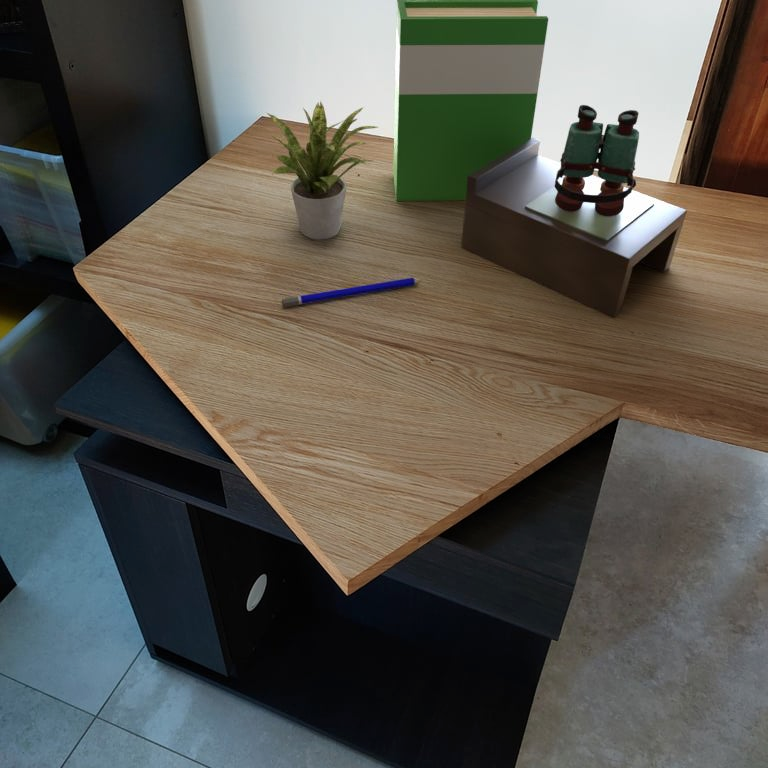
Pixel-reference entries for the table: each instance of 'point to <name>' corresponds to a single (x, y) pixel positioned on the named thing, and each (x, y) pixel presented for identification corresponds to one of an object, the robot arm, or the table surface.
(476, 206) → the shelf
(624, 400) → the table surface
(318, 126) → the house plant
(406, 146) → the hardback book
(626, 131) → the binoculars
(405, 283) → the pencil
